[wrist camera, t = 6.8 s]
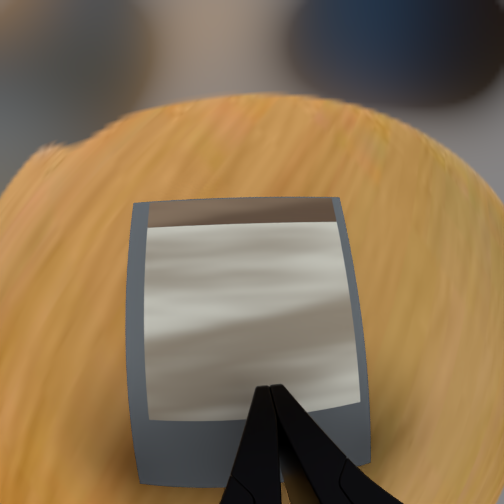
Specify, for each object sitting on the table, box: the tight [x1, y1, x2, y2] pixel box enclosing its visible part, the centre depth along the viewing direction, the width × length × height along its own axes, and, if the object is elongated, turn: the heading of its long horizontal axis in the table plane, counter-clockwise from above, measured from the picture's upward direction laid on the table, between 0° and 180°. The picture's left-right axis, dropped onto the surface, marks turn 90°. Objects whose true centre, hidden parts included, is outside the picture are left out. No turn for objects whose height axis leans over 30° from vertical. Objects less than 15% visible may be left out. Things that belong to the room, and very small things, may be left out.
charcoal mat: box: [126, 197, 371, 488], centre depth 16 cm, size 18×14×1 cm
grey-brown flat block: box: [144, 198, 360, 421], centre depth 15 cm, size 3×10×11 cm
